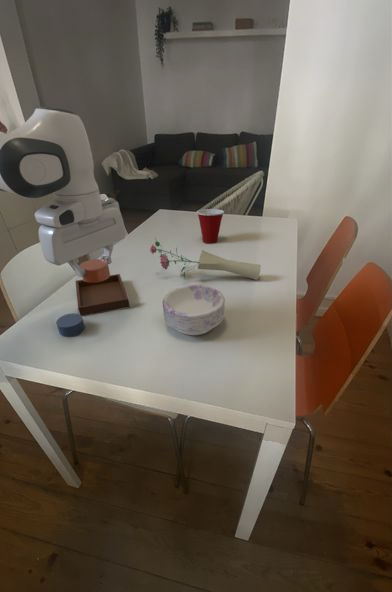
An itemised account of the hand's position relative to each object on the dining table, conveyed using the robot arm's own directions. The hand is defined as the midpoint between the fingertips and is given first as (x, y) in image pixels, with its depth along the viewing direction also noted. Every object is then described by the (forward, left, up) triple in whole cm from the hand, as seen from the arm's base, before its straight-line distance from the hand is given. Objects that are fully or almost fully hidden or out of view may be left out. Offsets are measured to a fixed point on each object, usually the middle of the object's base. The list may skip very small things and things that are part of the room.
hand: (94, 269), depth 74 cm
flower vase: (+33, +17, -16) cm, 40 cm away
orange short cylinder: (0, 0, -2) cm, 2 cm away
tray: (0, +16, -15) cm, 22 cm away
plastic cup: (+47, +49, -16) cm, 69 cm away
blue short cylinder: (-9, +1, -15) cm, 18 cm away
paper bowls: (+21, -8, -16) cm, 28 cm away
